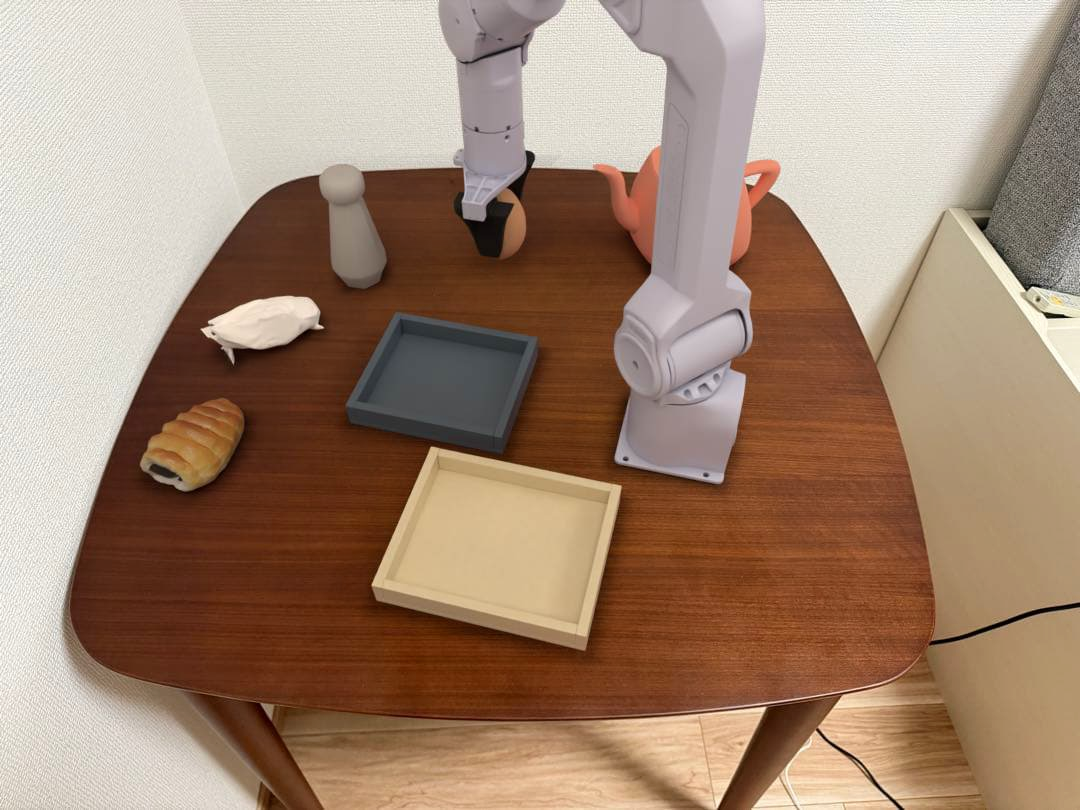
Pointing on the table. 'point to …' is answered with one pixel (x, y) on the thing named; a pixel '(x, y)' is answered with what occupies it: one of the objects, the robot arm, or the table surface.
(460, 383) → the slate tray
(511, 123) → the robot arm
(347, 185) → the salt shaker
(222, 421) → the pastry
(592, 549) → the ivory tray
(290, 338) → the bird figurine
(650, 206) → the teapot
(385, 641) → the table surface
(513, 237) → the egg
